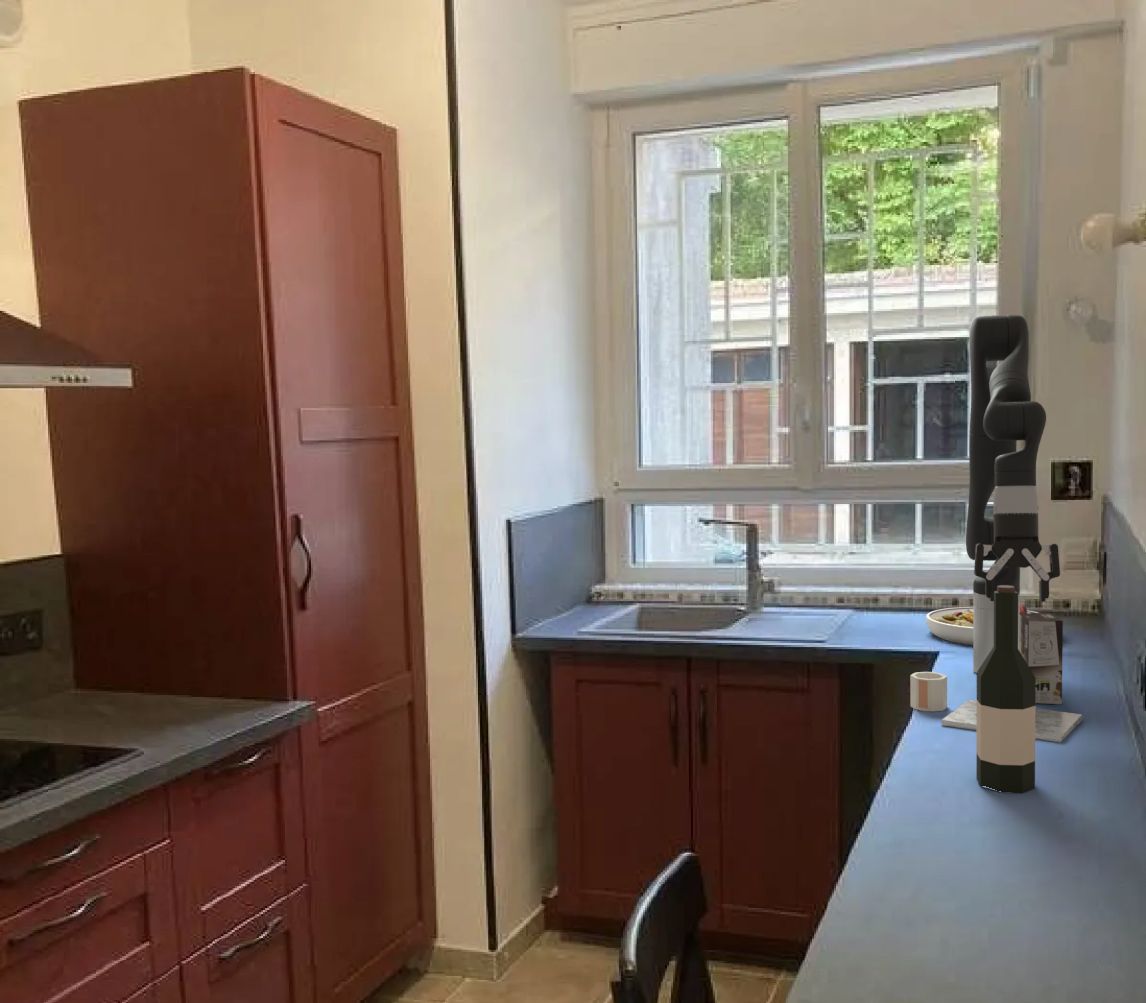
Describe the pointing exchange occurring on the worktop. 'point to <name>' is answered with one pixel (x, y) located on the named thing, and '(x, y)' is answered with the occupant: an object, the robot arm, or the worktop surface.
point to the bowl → (955, 623)
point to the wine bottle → (1006, 705)
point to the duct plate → (1046, 721)
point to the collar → (928, 691)
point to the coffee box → (1043, 653)
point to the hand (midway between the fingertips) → (1016, 601)
